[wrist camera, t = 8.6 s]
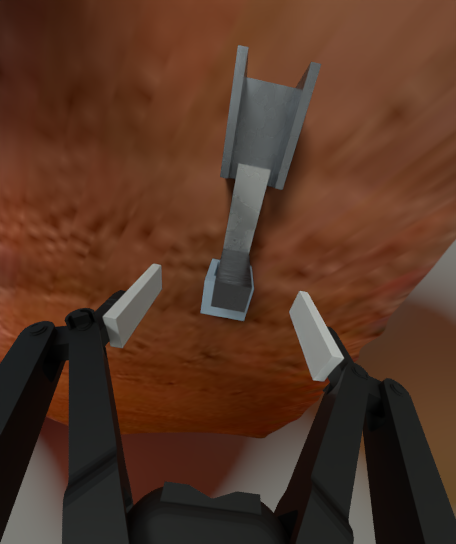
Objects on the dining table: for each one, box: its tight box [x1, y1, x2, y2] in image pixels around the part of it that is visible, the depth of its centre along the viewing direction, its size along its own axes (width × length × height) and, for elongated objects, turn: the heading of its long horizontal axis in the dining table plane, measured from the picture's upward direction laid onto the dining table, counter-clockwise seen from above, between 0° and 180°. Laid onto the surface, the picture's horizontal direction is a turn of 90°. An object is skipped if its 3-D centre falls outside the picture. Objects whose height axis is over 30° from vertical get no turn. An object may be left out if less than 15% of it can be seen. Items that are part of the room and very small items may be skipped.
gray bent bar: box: [211, 163, 271, 313], centre depth 20 cm, size 16×3×11 cm, turn 170°
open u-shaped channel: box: [220, 45, 321, 190], centre depth 18 cm, size 9×7×5 cm
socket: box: [201, 259, 254, 321], centre depth 27 cm, size 6×7×7 cm
